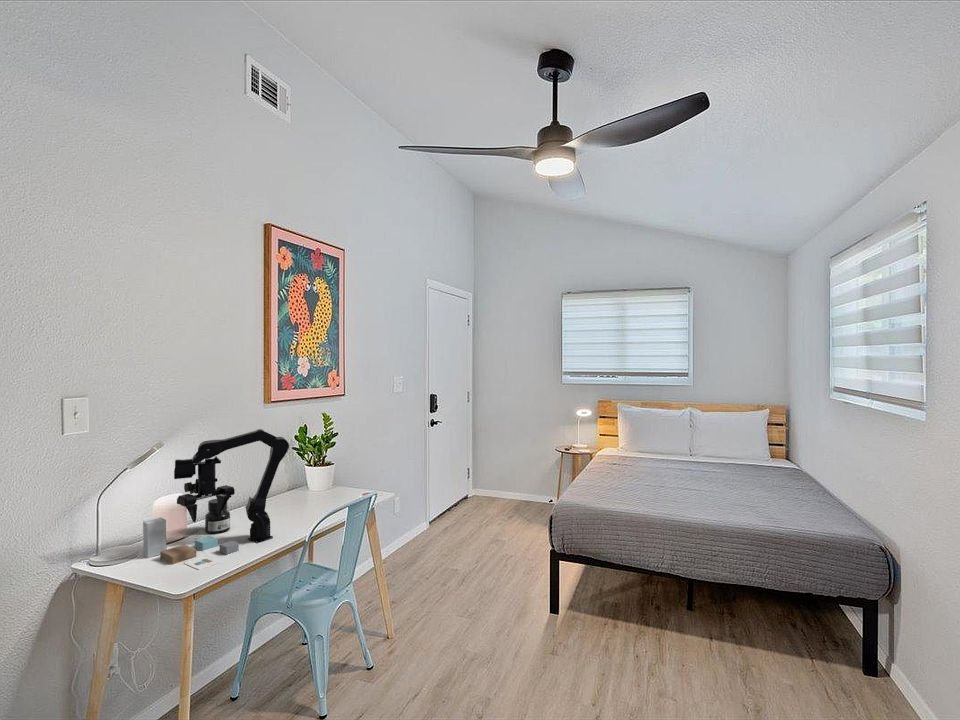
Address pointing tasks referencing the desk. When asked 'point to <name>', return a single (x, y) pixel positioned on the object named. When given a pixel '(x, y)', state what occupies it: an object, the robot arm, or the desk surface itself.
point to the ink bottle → (216, 519)
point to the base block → (178, 554)
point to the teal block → (206, 543)
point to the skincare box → (154, 537)
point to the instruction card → (201, 563)
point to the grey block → (229, 547)
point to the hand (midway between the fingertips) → (206, 518)
